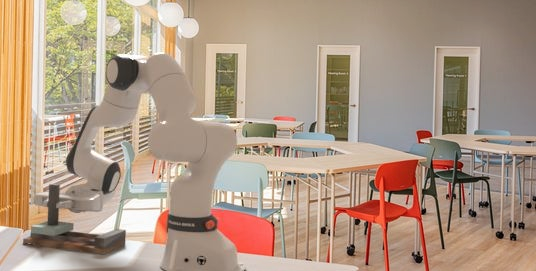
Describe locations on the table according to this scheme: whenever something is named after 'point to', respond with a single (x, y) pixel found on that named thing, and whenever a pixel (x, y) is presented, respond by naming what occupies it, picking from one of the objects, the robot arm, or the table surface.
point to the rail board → (81, 241)
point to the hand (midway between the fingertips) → (51, 205)
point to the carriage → (52, 216)
